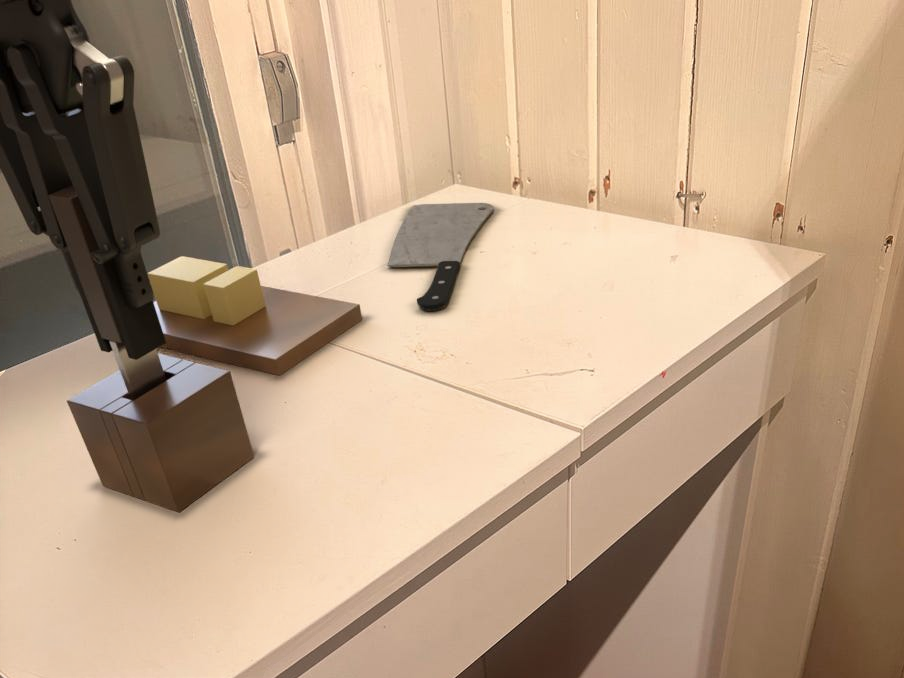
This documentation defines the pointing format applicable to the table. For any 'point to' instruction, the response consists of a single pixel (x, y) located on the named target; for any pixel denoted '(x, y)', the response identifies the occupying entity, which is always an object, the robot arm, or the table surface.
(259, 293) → the block
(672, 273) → the table surface
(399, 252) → the cleaver
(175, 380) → the knife block
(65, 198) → the knife
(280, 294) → the board
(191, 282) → the butter block
